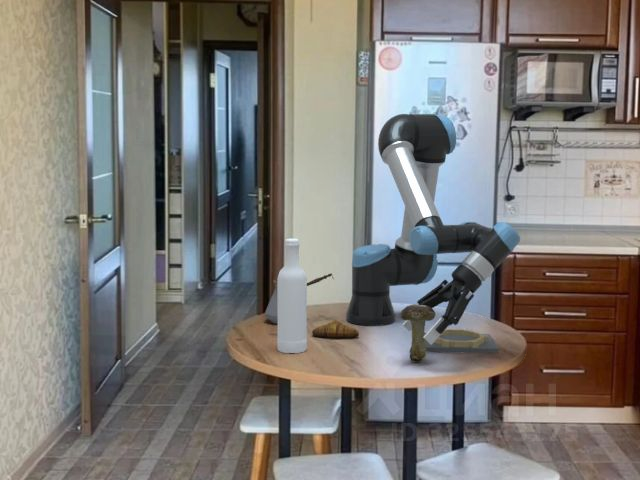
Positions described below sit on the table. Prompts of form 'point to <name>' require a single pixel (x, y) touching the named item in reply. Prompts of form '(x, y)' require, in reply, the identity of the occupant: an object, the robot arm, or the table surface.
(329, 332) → the croissant
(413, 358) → the mushroom
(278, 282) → the bottle
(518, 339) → the table surface
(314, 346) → the table surface
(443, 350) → the gear board
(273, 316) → the coffee pot
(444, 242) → the robot arm
